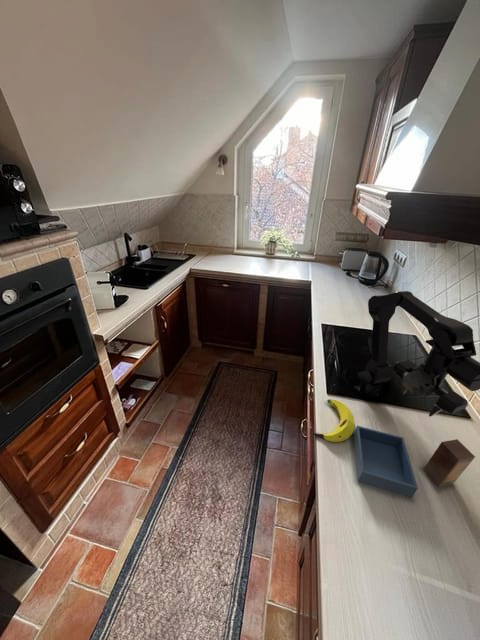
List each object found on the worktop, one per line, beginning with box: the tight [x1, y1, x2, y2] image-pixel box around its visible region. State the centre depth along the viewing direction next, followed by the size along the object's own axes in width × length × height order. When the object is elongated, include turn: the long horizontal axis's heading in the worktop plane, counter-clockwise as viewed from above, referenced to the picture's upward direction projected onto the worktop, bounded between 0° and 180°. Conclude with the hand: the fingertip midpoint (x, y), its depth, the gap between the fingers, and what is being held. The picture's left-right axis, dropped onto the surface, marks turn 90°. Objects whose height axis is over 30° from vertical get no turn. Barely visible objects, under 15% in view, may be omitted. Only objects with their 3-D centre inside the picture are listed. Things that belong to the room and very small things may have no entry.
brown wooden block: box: [422, 438, 476, 488], centre depth 68 cm, size 5×5×13 cm
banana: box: [312, 399, 356, 443], centre depth 86 cm, size 5×17×15 cm
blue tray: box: [352, 425, 419, 499], centre depth 73 cm, size 15×13×5 cm
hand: (416, 404), depth 78 cm, fingers open, 9 cm apart
